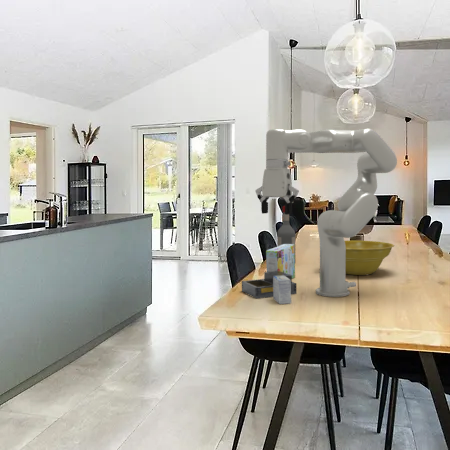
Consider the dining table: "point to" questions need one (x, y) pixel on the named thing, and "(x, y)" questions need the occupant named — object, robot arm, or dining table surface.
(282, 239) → the liquor
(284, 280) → the medicine box
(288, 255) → the snack box
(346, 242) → the planter bowl
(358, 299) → the dining table surface
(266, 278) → the rack
